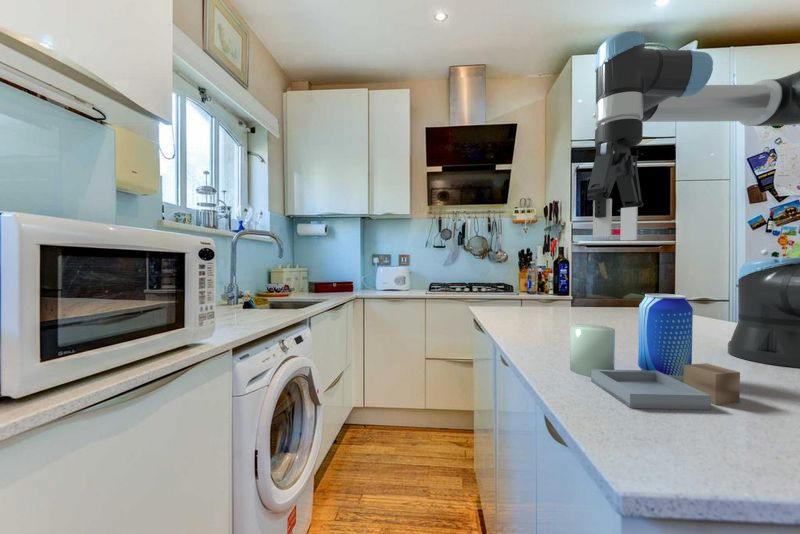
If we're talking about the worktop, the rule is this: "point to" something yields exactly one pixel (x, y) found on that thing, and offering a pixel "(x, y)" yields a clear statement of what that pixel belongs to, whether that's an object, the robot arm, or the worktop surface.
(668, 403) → the slate tray
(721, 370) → the walnut block
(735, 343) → the robot arm
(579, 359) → the pale green cylinder
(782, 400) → the worktop surface
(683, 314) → the beer can
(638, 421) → the worktop surface
